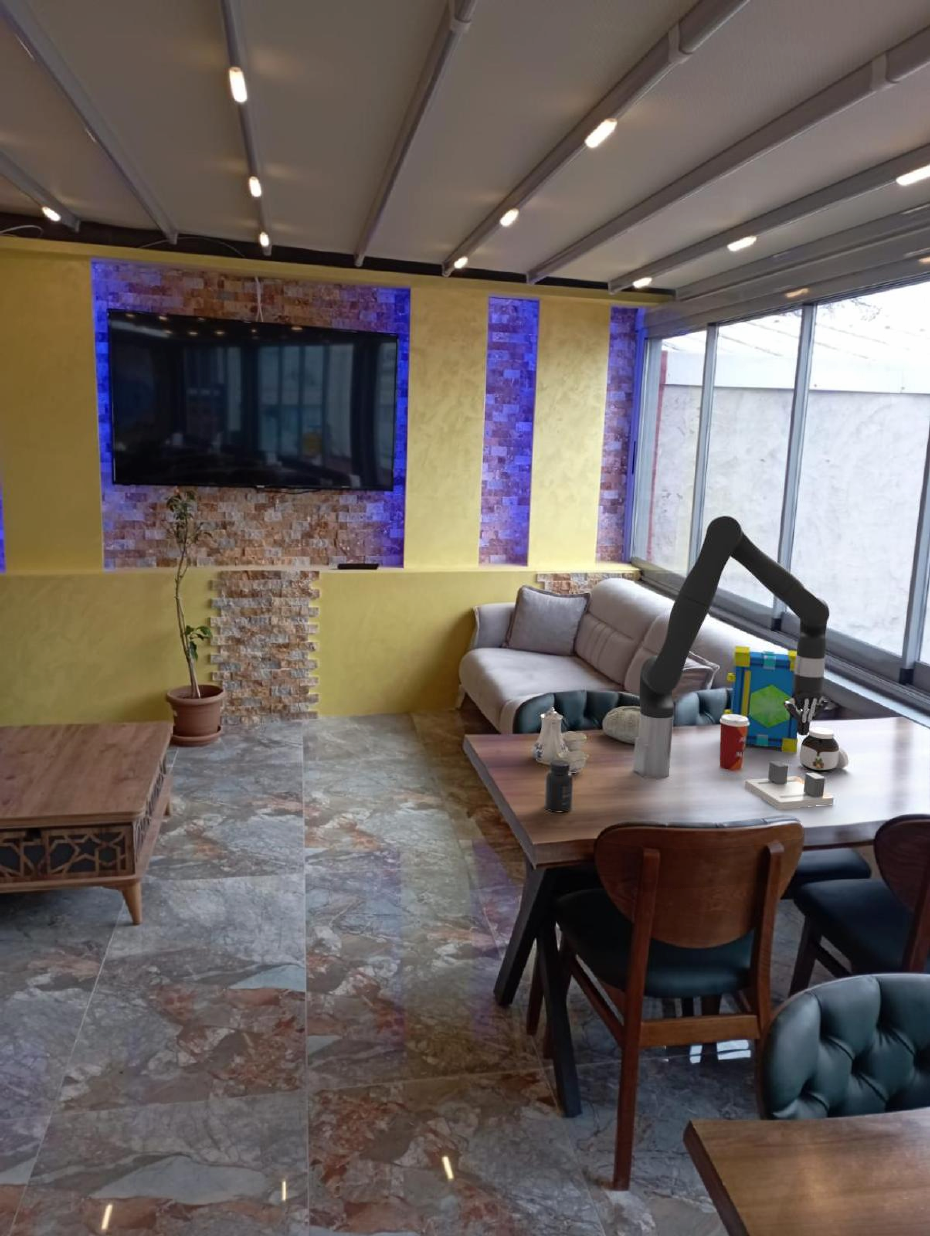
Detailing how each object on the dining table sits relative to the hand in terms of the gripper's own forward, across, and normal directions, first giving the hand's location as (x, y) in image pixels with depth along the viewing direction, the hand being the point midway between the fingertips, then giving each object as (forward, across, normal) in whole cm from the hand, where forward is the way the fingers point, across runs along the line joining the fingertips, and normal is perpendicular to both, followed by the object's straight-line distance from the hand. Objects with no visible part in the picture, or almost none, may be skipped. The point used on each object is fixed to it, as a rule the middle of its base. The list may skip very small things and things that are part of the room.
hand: (802, 734), depth 240 cm
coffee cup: (+15, -10, +18) cm, 25 cm away
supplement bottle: (+15, -71, -1) cm, 72 cm away
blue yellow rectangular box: (+15, +11, +35) cm, 40 cm away
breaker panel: (+15, -7, -5) cm, 17 cm away
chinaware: (+15, -57, +32) cm, 67 cm away
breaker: (+13, -3, -10) cm, 16 cm away
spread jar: (+15, +17, +12) cm, 26 cm away
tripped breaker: (+13, -7, 0) cm, 14 cm away
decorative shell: (+15, -28, +47) cm, 57 cm away
